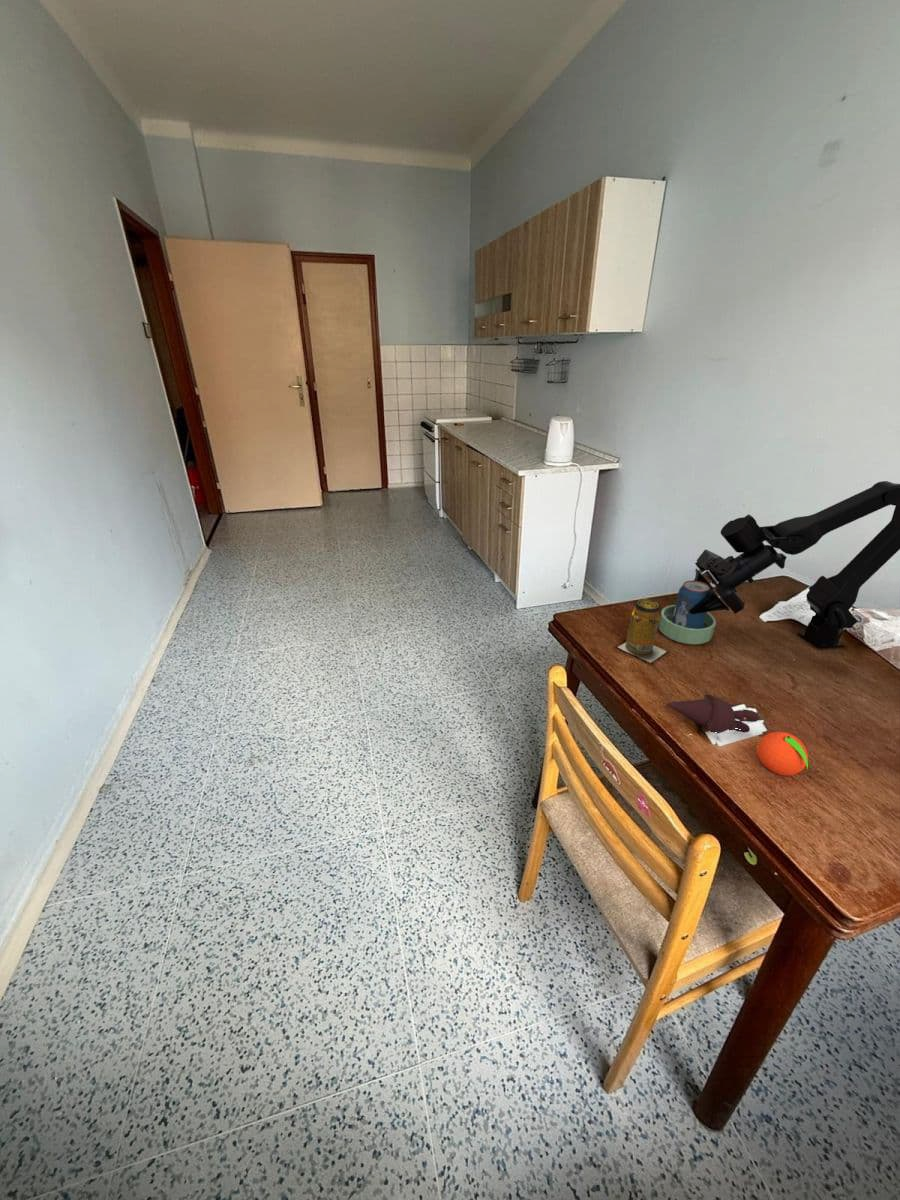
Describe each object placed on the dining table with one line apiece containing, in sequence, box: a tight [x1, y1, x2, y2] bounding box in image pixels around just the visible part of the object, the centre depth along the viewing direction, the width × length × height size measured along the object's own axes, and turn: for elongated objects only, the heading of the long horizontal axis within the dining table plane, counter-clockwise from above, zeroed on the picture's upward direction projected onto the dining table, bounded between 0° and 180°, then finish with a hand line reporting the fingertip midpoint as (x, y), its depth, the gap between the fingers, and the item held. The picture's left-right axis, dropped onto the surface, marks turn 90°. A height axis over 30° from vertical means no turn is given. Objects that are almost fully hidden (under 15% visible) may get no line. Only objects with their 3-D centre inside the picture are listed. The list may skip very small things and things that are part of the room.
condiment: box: [617, 598, 667, 664], centre depth 108 cm, size 7×8×12 cm
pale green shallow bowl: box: [658, 604, 717, 645], centre depth 117 cm, size 12×12×4 cm
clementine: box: [756, 731, 809, 776], centre depth 78 cm, size 8×7×7 cm
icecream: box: [666, 694, 761, 734], centre depth 87 cm, size 7×7×15 cm
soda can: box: [672, 580, 710, 629], centre depth 114 cm, size 7×7×12 cm
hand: (685, 605), depth 114 cm, fingers closed on soda can, 7 cm apart
